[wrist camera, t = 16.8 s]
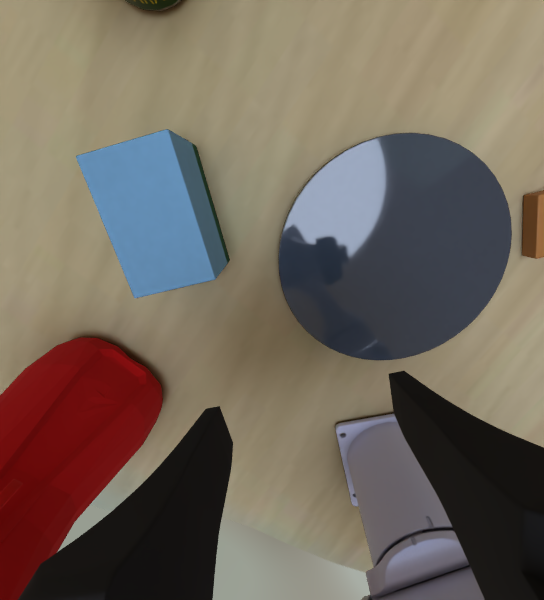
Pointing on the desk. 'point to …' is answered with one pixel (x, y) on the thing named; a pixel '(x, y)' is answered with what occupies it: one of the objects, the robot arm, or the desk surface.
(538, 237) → the orange cardboard box
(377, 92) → the desk surface
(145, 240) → the sponge
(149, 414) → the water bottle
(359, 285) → the plate
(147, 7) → the beer can
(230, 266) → the desk surface
